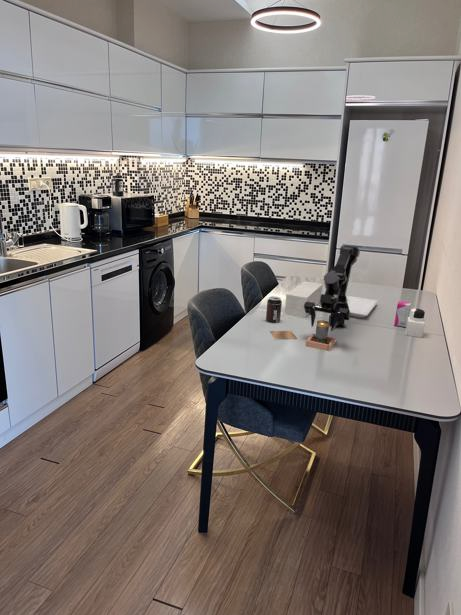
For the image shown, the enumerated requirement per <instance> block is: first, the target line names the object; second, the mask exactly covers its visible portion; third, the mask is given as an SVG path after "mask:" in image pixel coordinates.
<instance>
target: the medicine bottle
mask: <svg viewBox="0 0 461 615" xmlns="http://www.w3.org/2000/svg"><path fill="white" fill-rule="evenodd" d="M425 314H426V312H425V311H424V310H423V309H422V308H412V309H410V311H409V317H408V319H407V324H406V328H405V336H407V337H414V338H423V335H424V330H425V326H426V323H425Z"/></svg>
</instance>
